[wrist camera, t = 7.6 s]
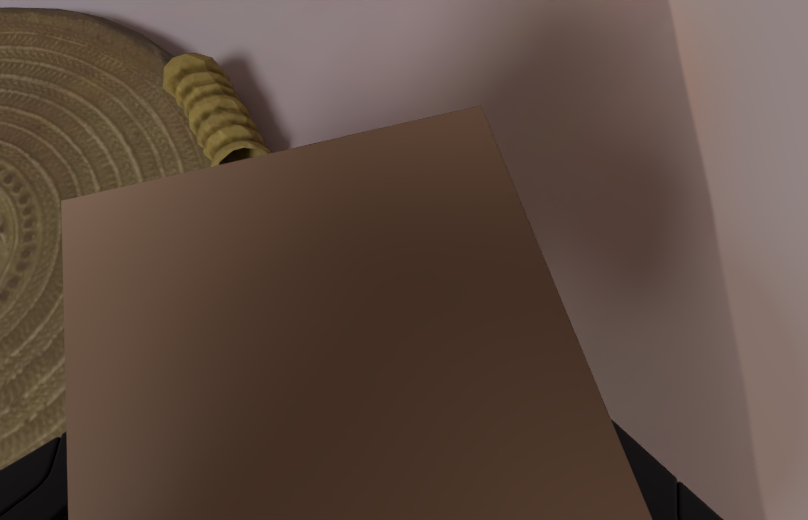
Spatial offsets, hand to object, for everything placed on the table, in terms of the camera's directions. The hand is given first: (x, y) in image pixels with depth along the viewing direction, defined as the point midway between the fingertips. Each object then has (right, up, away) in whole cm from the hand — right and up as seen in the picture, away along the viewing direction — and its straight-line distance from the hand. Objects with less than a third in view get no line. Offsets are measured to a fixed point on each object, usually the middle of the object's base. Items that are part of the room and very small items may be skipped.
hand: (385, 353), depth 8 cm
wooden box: (0, -3, +6) cm, 7 cm away
